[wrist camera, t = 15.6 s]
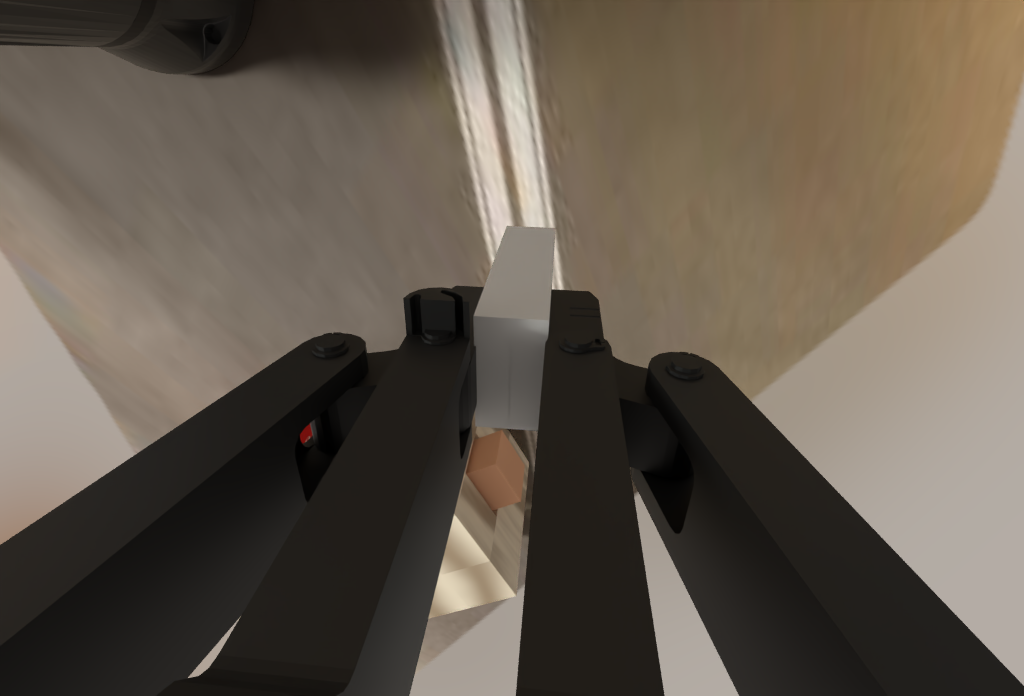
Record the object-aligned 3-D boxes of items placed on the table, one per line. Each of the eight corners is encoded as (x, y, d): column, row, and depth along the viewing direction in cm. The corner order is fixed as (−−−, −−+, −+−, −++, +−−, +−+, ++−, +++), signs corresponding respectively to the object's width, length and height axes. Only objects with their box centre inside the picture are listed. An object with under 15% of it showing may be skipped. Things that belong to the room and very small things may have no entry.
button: (501, 429, 51) (495, 463, 46) (524, 465, 53) (521, 501, 48) (450, 448, 53) (440, 483, 48) (474, 482, 55) (466, 518, 50)
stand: (463, 358, 56) (422, 472, 40) (529, 462, 62) (516, 595, 47) (389, 390, 59) (324, 507, 43) (459, 486, 65) (425, 619, 50)
